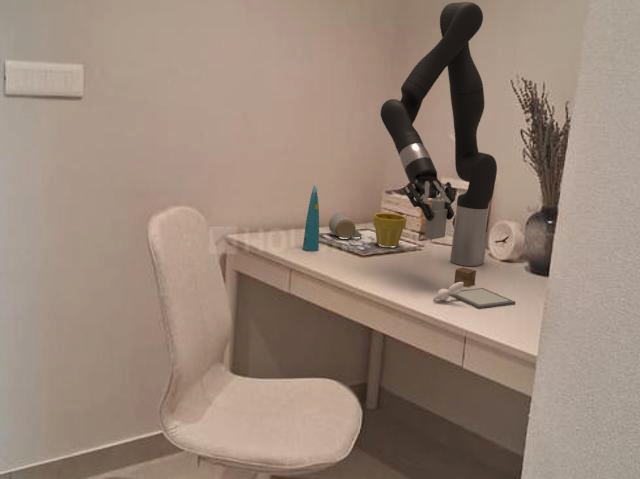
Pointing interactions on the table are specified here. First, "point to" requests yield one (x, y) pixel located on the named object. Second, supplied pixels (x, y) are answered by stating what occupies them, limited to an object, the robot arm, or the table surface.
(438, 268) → the table surface
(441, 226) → the power adapter
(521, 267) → the table surface
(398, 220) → the plant pot
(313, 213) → the tube
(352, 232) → the ceramic mug
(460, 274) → the walnut block
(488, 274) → the table surface
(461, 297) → the pad
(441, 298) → the rabbit figurine
